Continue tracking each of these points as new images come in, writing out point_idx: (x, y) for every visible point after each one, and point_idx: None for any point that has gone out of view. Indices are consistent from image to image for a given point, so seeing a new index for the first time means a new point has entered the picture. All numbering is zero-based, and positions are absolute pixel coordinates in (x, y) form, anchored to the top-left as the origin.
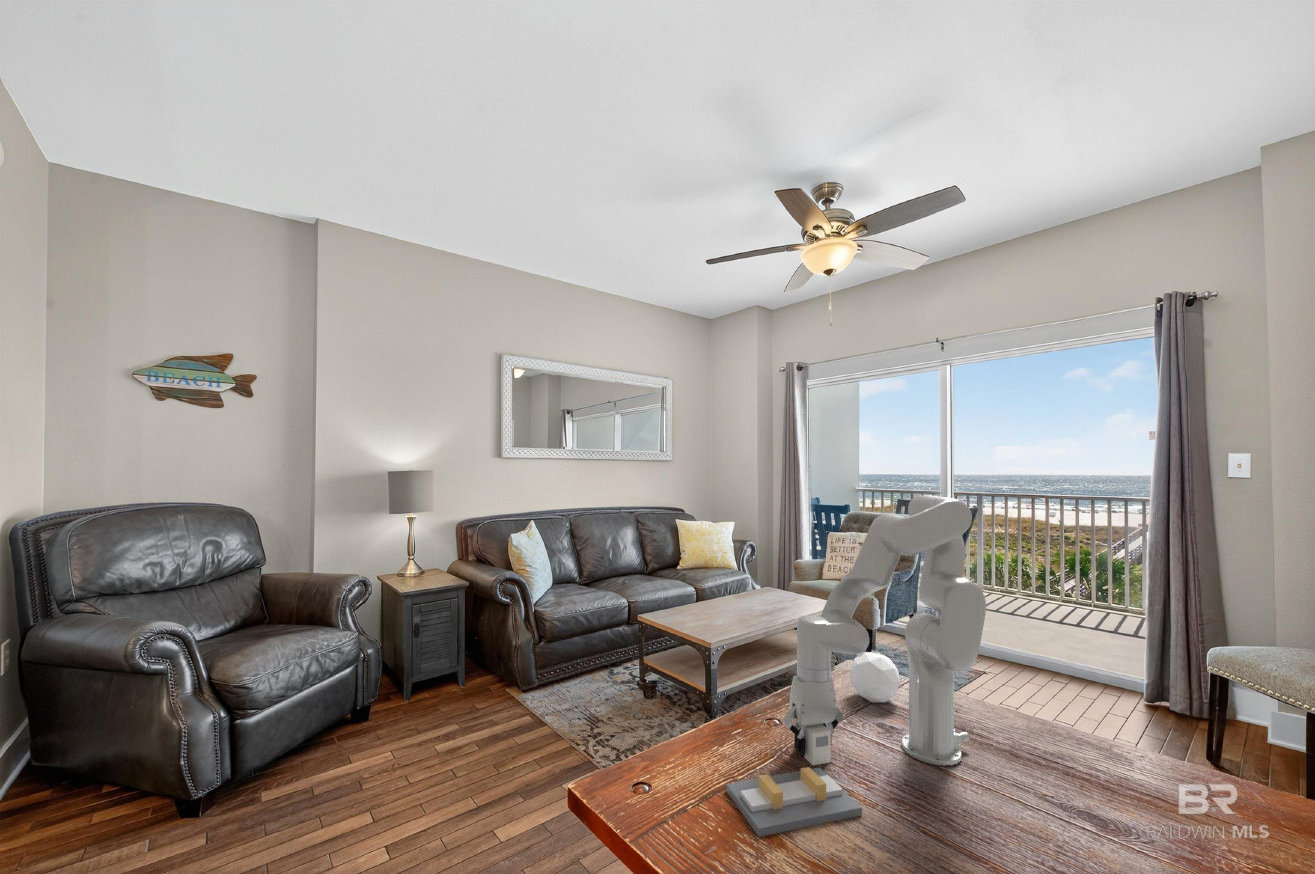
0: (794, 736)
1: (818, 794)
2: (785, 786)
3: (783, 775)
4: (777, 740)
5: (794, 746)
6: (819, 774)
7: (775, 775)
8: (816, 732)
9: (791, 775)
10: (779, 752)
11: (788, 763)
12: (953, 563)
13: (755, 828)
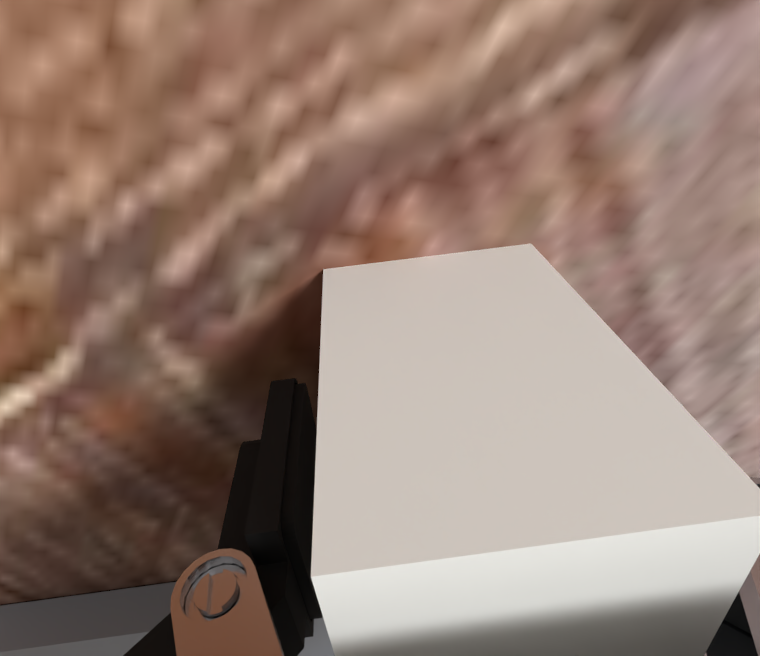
0: (219, 544)
1: None
2: None
3: (63, 653)
4: (144, 32)
5: (242, 447)
6: (316, 647)
7: (3, 651)
8: None
9: (123, 651)
10: (119, 306)
11: (171, 455)
12: None
13: None
